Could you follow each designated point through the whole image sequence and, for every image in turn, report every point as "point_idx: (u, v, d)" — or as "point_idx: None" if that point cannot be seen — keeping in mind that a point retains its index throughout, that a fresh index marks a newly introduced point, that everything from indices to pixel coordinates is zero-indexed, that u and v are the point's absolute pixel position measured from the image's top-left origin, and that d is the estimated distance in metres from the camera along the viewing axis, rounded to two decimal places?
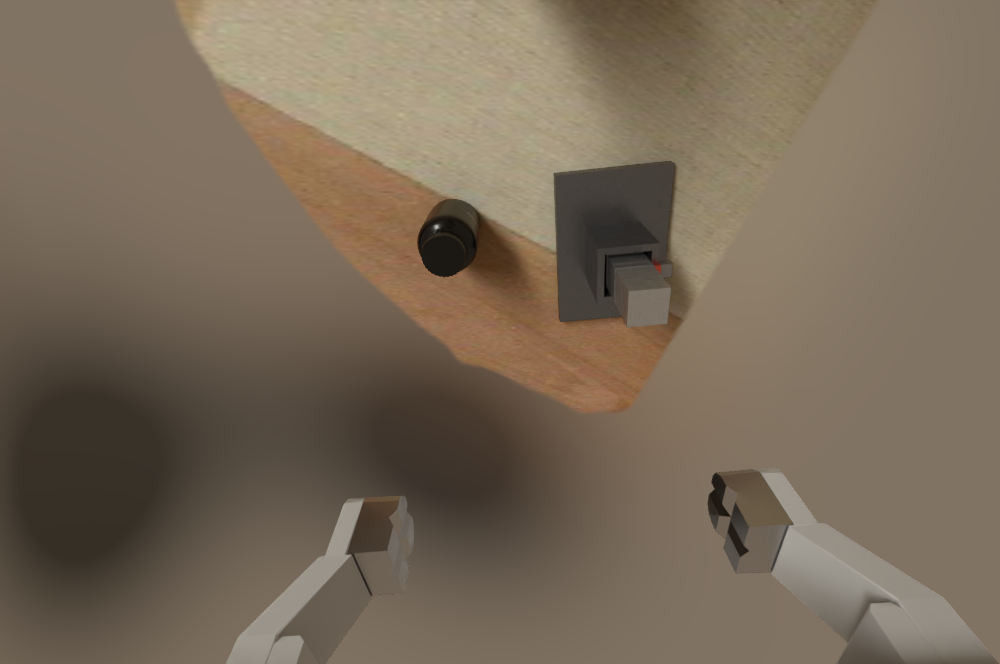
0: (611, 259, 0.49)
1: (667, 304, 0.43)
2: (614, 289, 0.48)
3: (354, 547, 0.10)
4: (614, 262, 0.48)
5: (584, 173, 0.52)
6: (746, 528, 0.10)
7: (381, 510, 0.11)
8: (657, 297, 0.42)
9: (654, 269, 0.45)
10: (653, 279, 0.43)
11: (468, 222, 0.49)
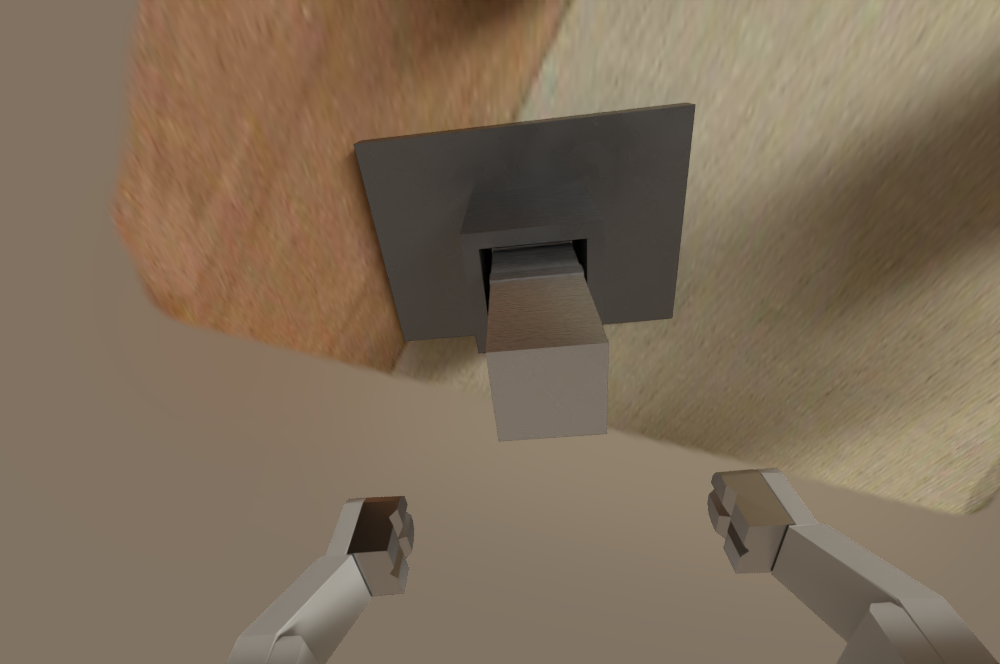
0: (574, 254, 0.21)
1: (557, 433, 0.16)
2: (526, 278, 0.19)
3: (354, 547, 0.10)
4: None
5: (686, 168, 0.27)
6: (746, 528, 0.10)
7: (381, 510, 0.11)
8: (580, 411, 0.16)
9: None
10: None
11: None
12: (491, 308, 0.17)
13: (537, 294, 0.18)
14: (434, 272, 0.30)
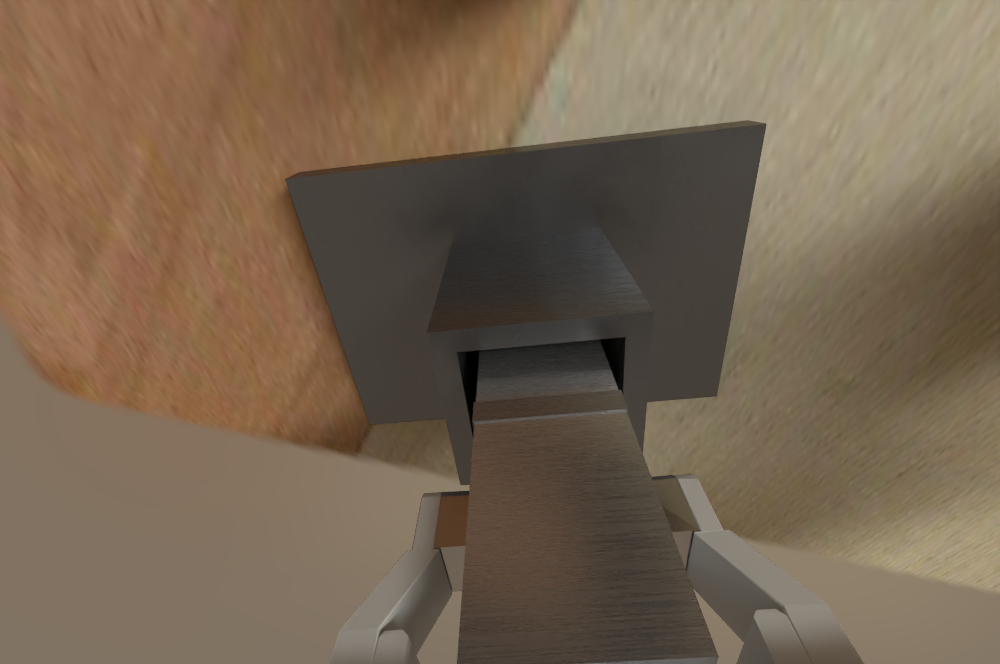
0: None
1: None
2: (532, 417, 0.12)
3: (440, 541, 0.10)
4: None
5: (747, 210, 0.19)
6: None
7: (461, 504, 0.11)
8: None
9: None
10: None
11: None
12: (473, 502, 0.09)
13: (554, 465, 0.10)
14: (405, 343, 0.23)
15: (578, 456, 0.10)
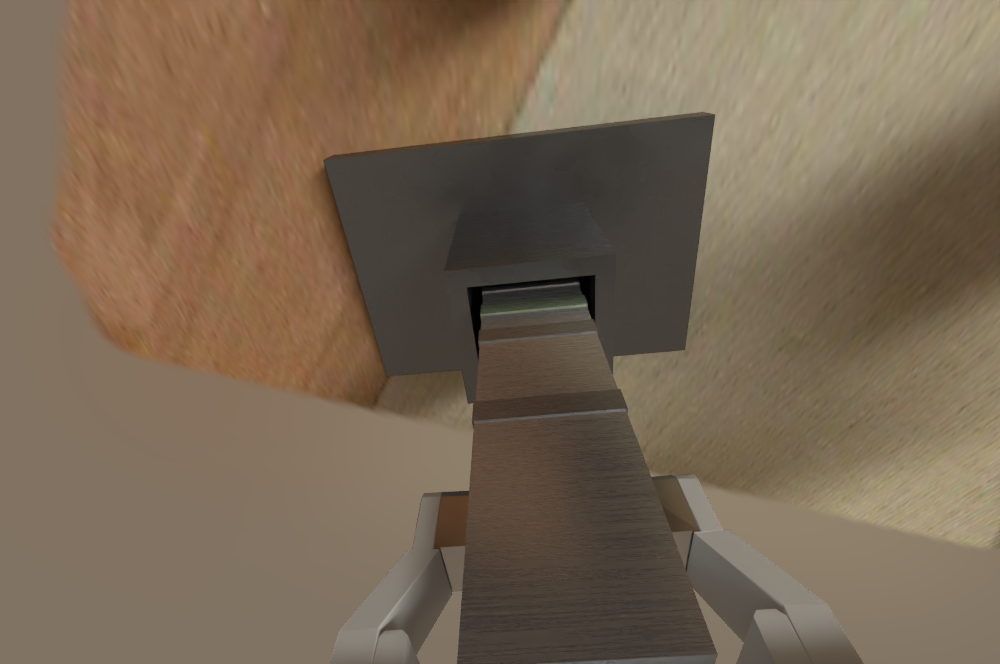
0: None
1: None
2: (532, 417, 0.12)
3: (440, 541, 0.10)
4: None
5: (703, 186, 0.24)
6: None
7: (461, 504, 0.11)
8: None
9: None
10: None
11: None
12: (473, 501, 0.09)
13: (553, 464, 0.10)
14: (419, 302, 0.27)
15: (578, 455, 0.10)
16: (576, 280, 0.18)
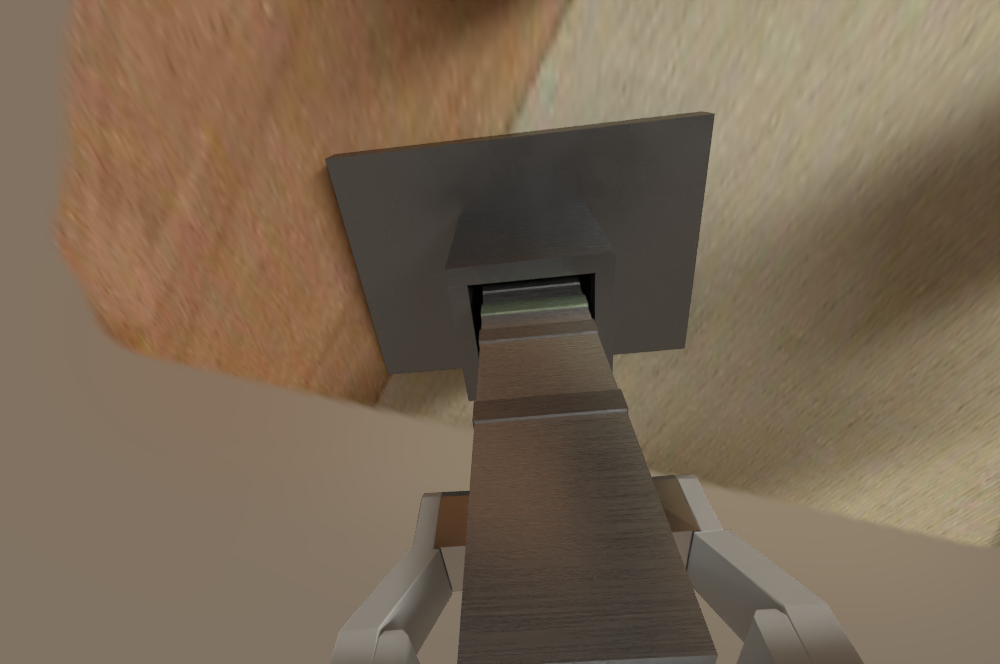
0: None
1: None
2: (532, 417, 0.12)
3: (440, 541, 0.10)
4: None
5: (703, 185, 0.24)
6: None
7: (461, 504, 0.11)
8: None
9: None
10: None
11: None
12: (473, 501, 0.09)
13: (554, 464, 0.10)
14: (420, 300, 0.27)
15: (578, 455, 0.10)
16: (577, 280, 0.18)
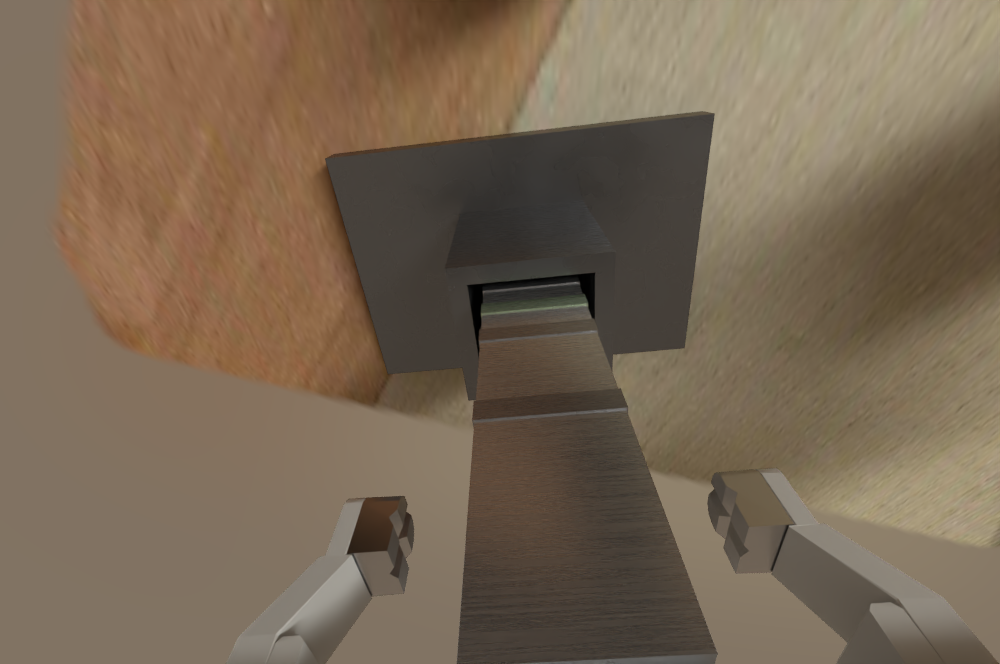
0: None
1: None
2: (532, 416, 0.12)
3: (354, 547, 0.10)
4: None
5: (703, 185, 0.24)
6: (746, 528, 0.10)
7: (381, 510, 0.11)
8: None
9: None
10: None
11: None
12: (473, 500, 0.09)
13: (554, 463, 0.10)
14: (420, 300, 0.27)
15: (578, 454, 0.10)
16: (576, 279, 0.18)
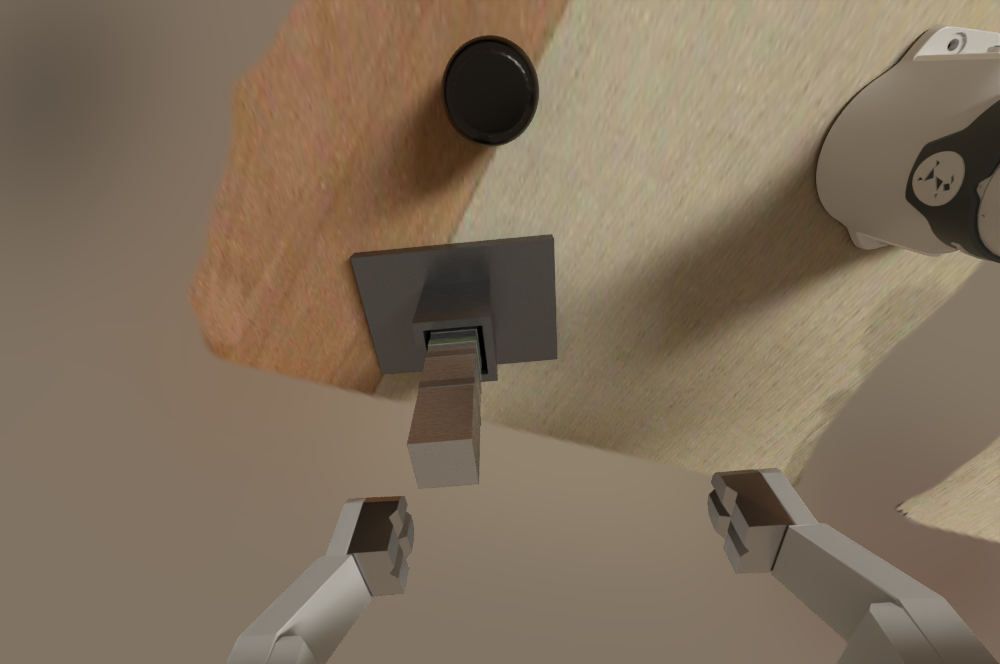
0: (475, 365, 0.34)
1: (451, 484, 0.29)
2: (440, 386, 0.32)
3: (354, 547, 0.10)
4: (474, 373, 0.33)
5: (553, 272, 0.44)
6: (746, 528, 0.10)
7: (381, 510, 0.11)
8: (462, 472, 0.28)
9: (479, 433, 0.33)
10: (477, 449, 0.30)
11: None
12: (415, 411, 0.30)
13: (443, 401, 0.30)
14: (401, 331, 0.47)
15: (452, 398, 0.30)
16: (475, 327, 0.39)
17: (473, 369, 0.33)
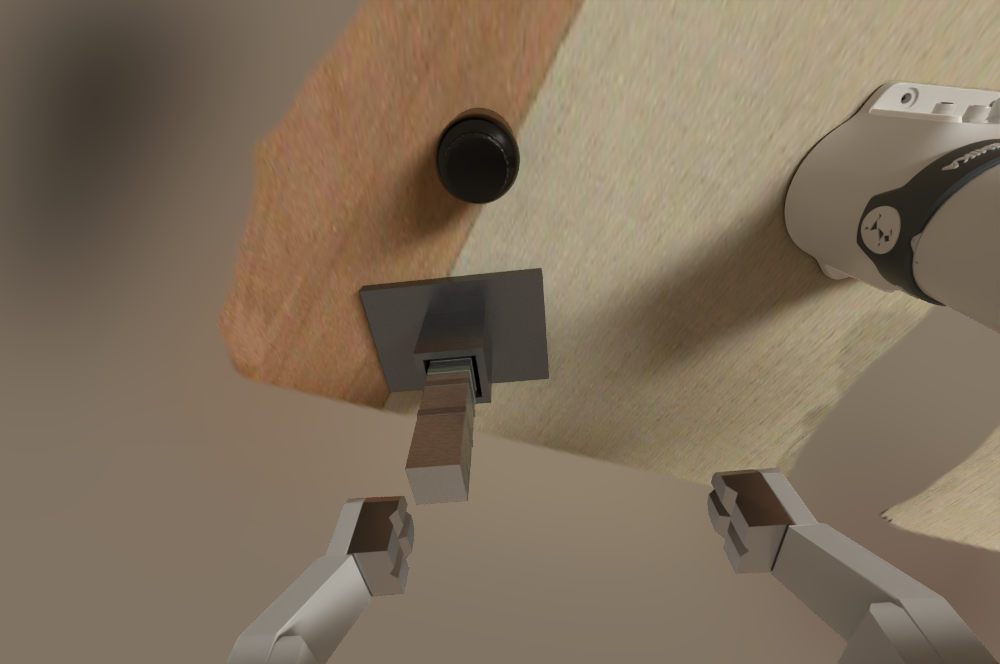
0: (467, 394, 0.39)
1: (444, 501, 0.34)
2: (435, 414, 0.36)
3: (354, 547, 0.10)
4: (466, 401, 0.38)
5: (543, 302, 0.49)
6: (746, 528, 0.10)
7: (381, 510, 0.11)
8: (453, 491, 0.33)
9: (470, 455, 0.37)
10: (467, 470, 0.35)
11: None
12: (413, 438, 0.34)
13: (438, 428, 0.35)
14: (406, 354, 0.52)
15: (445, 426, 0.35)
16: (470, 356, 0.43)
17: (465, 398, 0.38)
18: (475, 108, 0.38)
